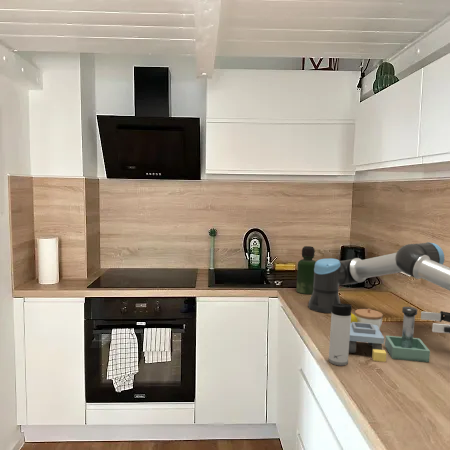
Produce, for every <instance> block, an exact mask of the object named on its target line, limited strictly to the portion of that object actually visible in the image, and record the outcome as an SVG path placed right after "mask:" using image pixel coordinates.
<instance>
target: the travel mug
mask: <svg viewBox="0 0 450 450" xmlns="http://www.w3.org/2000/svg"><path fill="white" fill-rule="evenodd" d="M352 307H353V306H352V305H351V304H349V303H341V304H333V305H332V313H330V314H331V318H330V329H329V331H330V334H329V348H328V362H329V363H330V364H332V365H333V366H341V367H342V366H346V365H348V363H349V339H350V325H351V313H352Z"/></svg>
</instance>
